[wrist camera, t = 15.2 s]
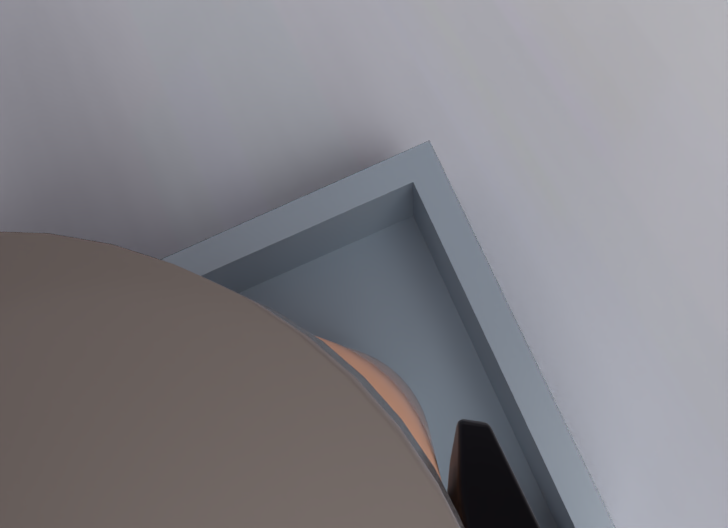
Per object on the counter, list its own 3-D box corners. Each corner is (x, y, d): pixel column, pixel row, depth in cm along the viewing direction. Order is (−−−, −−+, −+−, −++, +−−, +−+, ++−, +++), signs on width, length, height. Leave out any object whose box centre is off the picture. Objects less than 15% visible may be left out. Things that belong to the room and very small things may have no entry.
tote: (-32, 871, 17) (-166, 1022, 13) (-145, 440, 20) (-289, 458, 16) (615, 588, 17) (676, 655, 13) (426, 187, 20) (429, 140, 16)
